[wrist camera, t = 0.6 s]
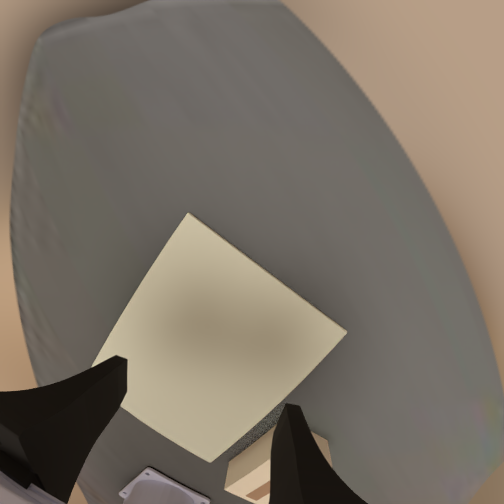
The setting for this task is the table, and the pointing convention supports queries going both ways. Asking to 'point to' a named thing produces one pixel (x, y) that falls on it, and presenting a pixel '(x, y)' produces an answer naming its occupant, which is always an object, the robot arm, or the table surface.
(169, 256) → the mat
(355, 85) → the table surface
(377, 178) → the table surface
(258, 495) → the card deck box
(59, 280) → the table surface
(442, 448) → the table surface
